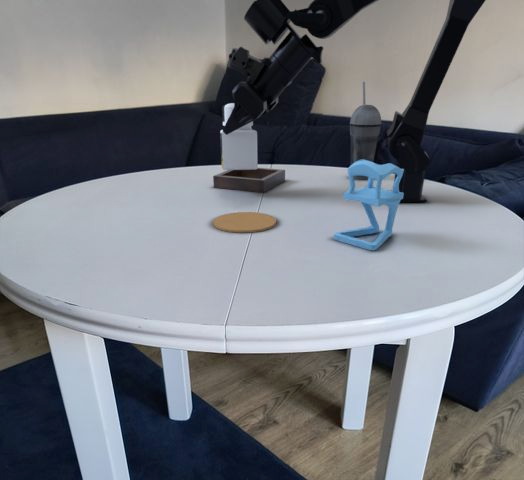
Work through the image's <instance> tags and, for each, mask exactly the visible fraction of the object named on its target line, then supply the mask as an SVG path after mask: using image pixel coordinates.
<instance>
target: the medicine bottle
mask: <svg viewBox="0 0 524 480" xmlns="http://www.w3.org/2000/svg"><path fill="white" fill-rule="evenodd" d="M233 108H234V102H230V103H225V104H224V105H222V107H221V111H222V126H224V127H225V125H226V123H227V121H228V118H229V116H230V114H231V112H232V110H233ZM252 126H254V121H252V122H250V123H248V124H246V125H244V126H243V127H241V128H239V129H237V130H235V131H233V132H231V133H229V134H227V135H226V134H225V133H224V132H223V129H220V131H219V134H220V135H219V137H220V138H219V139H220V161H221V162H220V163H221V169H222V170H223V171H227V170H252V169H257V168H259V166H258V163H259V161H258V131H257V130H255V129H253V128H252Z"/></svg>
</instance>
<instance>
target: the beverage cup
mask: <svg viewBox="0 0 524 480" xmlns="http://www.w3.org/2000/svg"><path fill="white" fill-rule="evenodd" d="M349 121H350V122H349V123H348V126H349V135H350V166H351V165H352V164H353V163H355V162H357V161H359V160H361V159H365V160H367V161H371V162H373V163H374V161H375V155H376V149H377V144H378V140H379V139H378V138H379V135H380V132H381V127H382V125H383V124H382V116H381V113H380V110H379V109H378V108H377V107H376V106H375V105H373V104H366V81H362V104H361V105H359V106H358V107H357V108H355V110H353V112H352V114H351V117H350V120H349ZM353 178H354V180H356V181H357V180H358V181H366V180H367V181H368V178H369V177H367V176H353Z"/></svg>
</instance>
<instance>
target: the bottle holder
mask: <svg viewBox="0 0 524 480" xmlns="http://www.w3.org/2000/svg"><path fill="white" fill-rule="evenodd" d="M212 179H213V182H212V183H213V188H214V189H224V190H234V191H235V190H236V191H242V192H243V191H245V192H255V193H265V192H268V191H269V190H272V189H273V188H275V187H277V186H279V185H280V184H282V183H284V182H285V181H286V169H279V168H267V167H258V168H257V169H252V170H224V171H222V172H220V173H218V174H217V173H216V174H214V175H213V176H212Z"/></svg>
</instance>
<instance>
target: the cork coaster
mask: <svg viewBox="0 0 524 480" xmlns="http://www.w3.org/2000/svg"><path fill="white" fill-rule="evenodd" d="M212 225H213V227H214V228H215V229H218V230H220V231H223V232H229V233H237V234H238V233H239V234H241V233H242V234H243V233H244V234H247V233H259V232H264V231H266V230H267V231H268V230H270V229H272V228H274V227H275V226H276V225H277V219H276V218H275V217H274V216H273V215H270V214H267V213H262V212H254V211H253V212H252V211H240V212H239V211H238V212H231V213H225V214H222V215H219V216H217V217H215V218H214V219H213V221H212Z"/></svg>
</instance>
